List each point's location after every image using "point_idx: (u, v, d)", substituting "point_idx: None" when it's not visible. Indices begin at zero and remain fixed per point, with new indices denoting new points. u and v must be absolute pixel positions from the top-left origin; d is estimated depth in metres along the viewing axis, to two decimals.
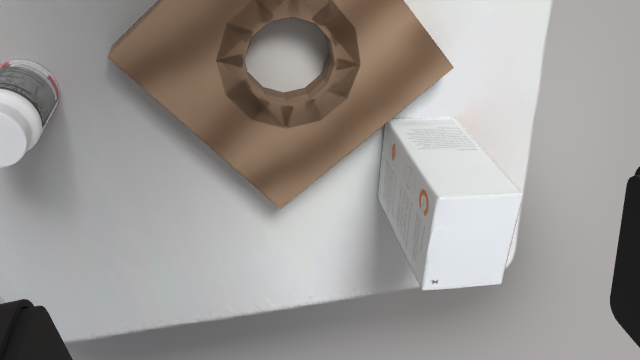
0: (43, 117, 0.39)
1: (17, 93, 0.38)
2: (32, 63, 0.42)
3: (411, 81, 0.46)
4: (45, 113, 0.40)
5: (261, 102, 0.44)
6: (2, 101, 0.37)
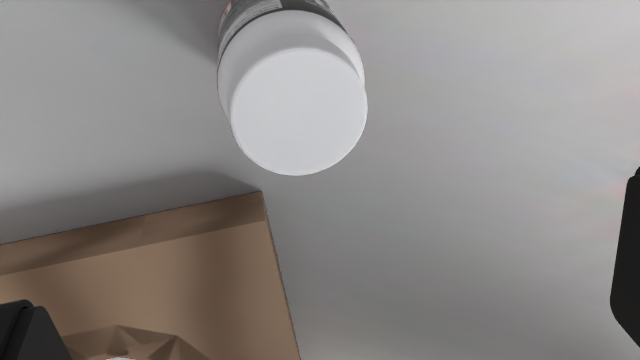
0: None
1: None
2: None
3: None
4: None
5: (78, 358, 0.27)
6: None
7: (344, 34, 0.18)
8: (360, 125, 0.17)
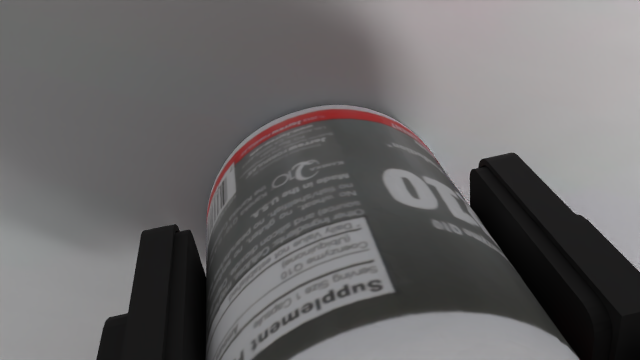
0: None
1: None
2: None
3: None
4: None
5: None
6: None
7: None
8: None
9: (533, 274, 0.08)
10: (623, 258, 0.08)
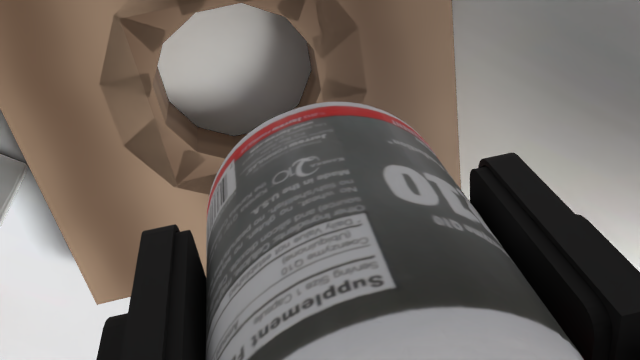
0: None
1: None
2: None
3: (103, 245, 0.26)
4: None
5: (192, 1, 0.22)
6: None
7: None
8: None
9: (533, 274, 0.08)
10: (623, 258, 0.08)
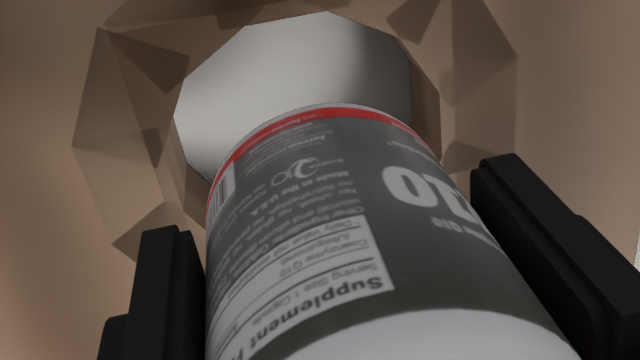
0: None
1: None
2: None
3: None
4: None
5: (240, 7, 0.12)
6: None
7: None
8: None
9: (533, 274, 0.08)
10: (623, 258, 0.08)
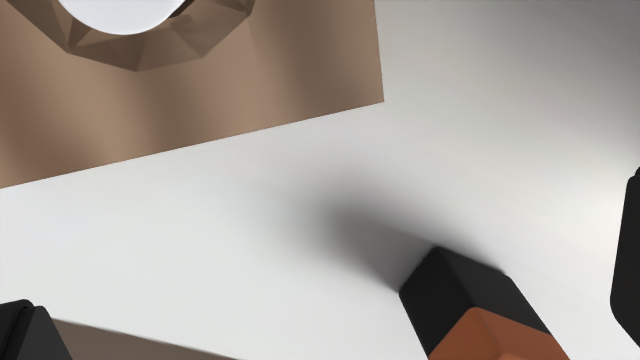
0: None
1: None
2: None
3: None
4: None
5: None
6: None
7: None
8: None
9: None
10: None
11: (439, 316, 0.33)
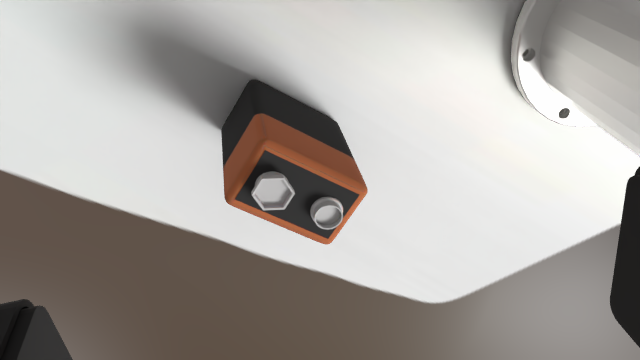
0: None
1: None
2: None
3: None
4: None
5: None
6: None
7: None
8: None
9: None
10: None
11: (237, 131, 0.34)
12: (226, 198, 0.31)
